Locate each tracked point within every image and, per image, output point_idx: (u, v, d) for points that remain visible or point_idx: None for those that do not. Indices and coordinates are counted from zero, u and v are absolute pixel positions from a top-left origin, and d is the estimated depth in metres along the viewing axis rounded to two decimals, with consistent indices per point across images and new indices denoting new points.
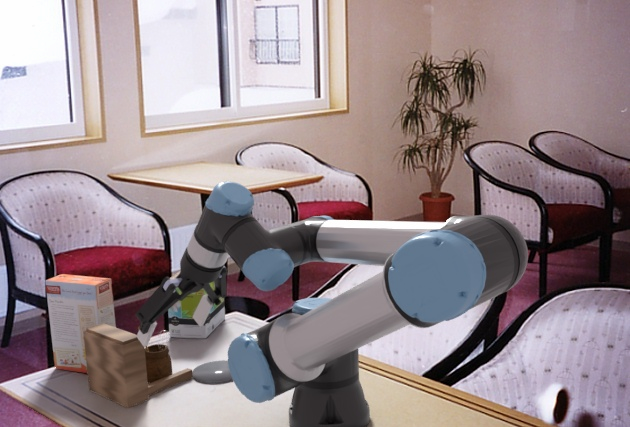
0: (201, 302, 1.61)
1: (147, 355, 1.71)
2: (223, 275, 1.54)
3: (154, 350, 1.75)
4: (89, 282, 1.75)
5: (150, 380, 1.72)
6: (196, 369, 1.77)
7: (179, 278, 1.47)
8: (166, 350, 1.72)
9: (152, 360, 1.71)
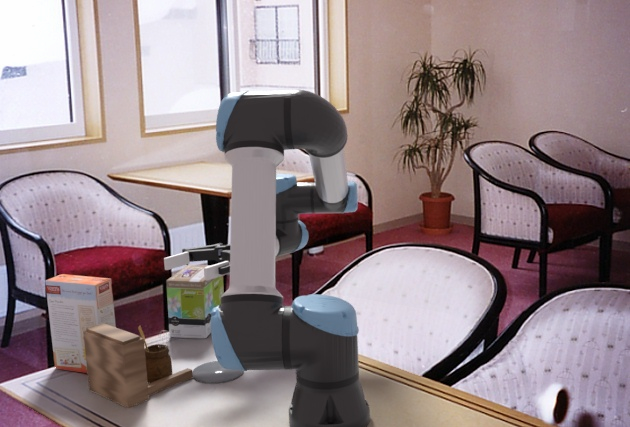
0: None
1: (147, 355, 1.71)
2: None
3: (154, 350, 1.75)
4: (89, 282, 1.75)
5: (150, 380, 1.72)
6: (196, 369, 1.77)
7: None
8: (166, 350, 1.72)
9: (152, 360, 1.71)
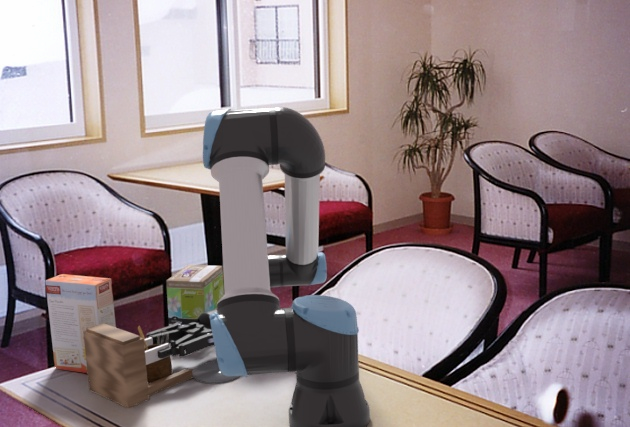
0: None
1: None
2: (209, 334, 1.77)
3: None
4: (89, 282, 1.75)
5: (150, 380, 1.72)
6: (196, 369, 1.77)
7: None
8: None
9: None
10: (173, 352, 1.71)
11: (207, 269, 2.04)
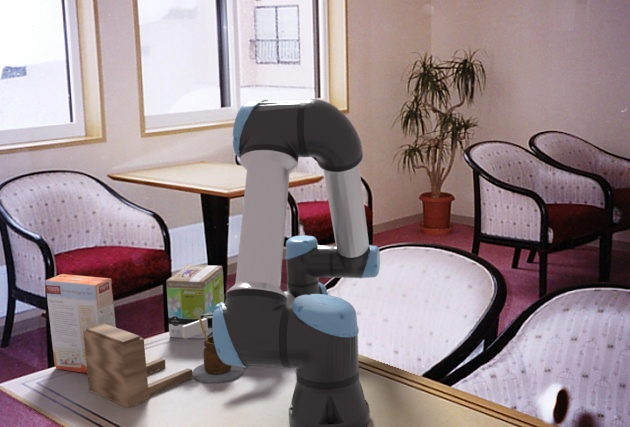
0: None
1: (208, 346, 1.73)
2: None
3: (213, 341, 1.77)
4: (89, 282, 1.75)
5: (210, 371, 1.74)
6: (196, 369, 1.77)
7: None
8: None
9: (213, 351, 1.73)
10: None
11: (207, 269, 2.04)
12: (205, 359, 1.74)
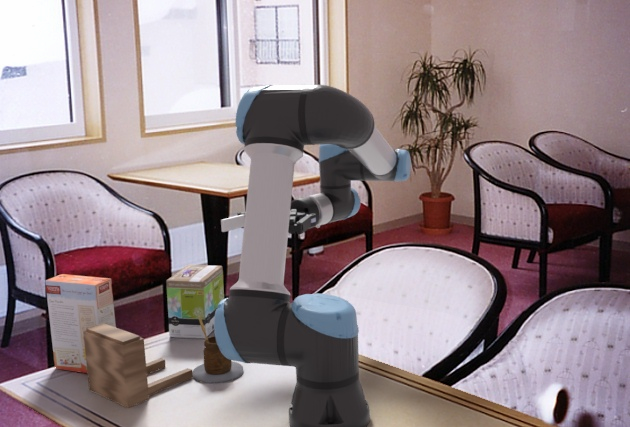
0: None
1: (208, 346, 1.73)
2: (309, 215, 1.84)
3: (213, 341, 1.77)
4: (89, 282, 1.75)
5: (210, 371, 1.74)
6: (196, 369, 1.77)
7: None
8: None
9: (213, 351, 1.73)
10: (291, 230, 1.76)
11: (207, 269, 2.04)
12: (205, 359, 1.74)
